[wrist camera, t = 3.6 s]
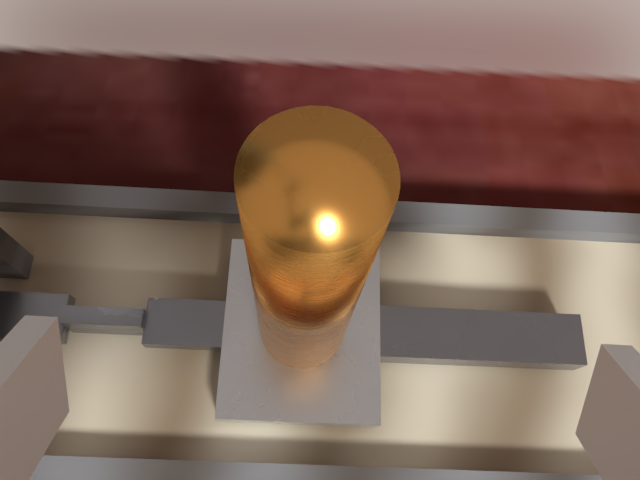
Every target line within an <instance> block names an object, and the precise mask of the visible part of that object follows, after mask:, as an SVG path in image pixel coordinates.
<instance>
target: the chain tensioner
mask: <svg viewBox="0 0 640 480" xmlns="http://www.w3.org/2000/svg"><path fill="white" fill-rule="evenodd" d="M400 181H401V179H400V170H399V166H398V162H397V159H396V156H395V154H394V152H393V150H392V148H391V146H390V145H389V143H388V142H387V140H386V139H385V138H384V136H383V135H382V134H381V133H380V132H379V131H378V130H377V129H376V128H375V127H373V126H372V125H371V124H370V123H368V122H367V121H365V120H364V119H362V118H361V117H359V116H357V115H355V114H352V113H350V112H347V111H344V110H342V109H338V108H333V107H327V106H303V107H297V108H292V109H288V110H286V111H283V112H280V113H278V114H276V115H274V116H272V117H270V118H268V119H267V120H265V121H264V122H262V123H261V124H260V125H259V126H257V127H256V128H255V129H254V130H253V131H252V132H251V134H250V135H249V136H248V137H247V139H246V140H245V141H244V143H243V145H242V147H241V149H240V151H239V153H238V156H237V159H236V162H235V168H234V187H235V194H236V199H237V205H238V210H239V216H240V221H241V227H242V232H243V238H244V239H232V245H231V255H230V265H229V275H228V286H227V296H226V301H214V300H192V299H170V298H148V302H147V309H146V311H145V309H144V308H122V307H99V306H77V305H75V300H76V299H75V298H74V297H73V296H71V295H70V294H60V293H38V292H16V291H0V341H2V340H3V339H4V337H5V336H6V335H7V334H8V333H9V332H10V331H11V330H12V329H13V328H14V327H15V326H16V324H17V323H18V322H19V321H20V320H21V319H22V318H23V317H24V316H25V315H28V316H48V317H58V324H59V332H60V340H61V344H67V340H68V335H69V330H70V331H71V332H73V333H94V334H117V335H140V336H142V342H141V344H142V345H143V346H144V347H145V348H166V349H190V350H213V351H221V357H220V368H219V378H218V388H217V398H216V409H215V420H216V421H218V422H231V423H257V424H284V425H310V426H337V427H363V428H377V427H379V426H381V369H380V362H384V363H408V364H432V365H456V366H479V367H503V368H527V369H551V370H576V369H579V368H581V367H584V366H587V365H588V364H587V357H586V350H585V343H584V336H583V329H582V322H581V315H580V314H561V313H539V312H517V311H496V310H474V309H452V308H430V307H408V306H386V305H380V244H381V242H382V239H383V237H384V234H385V232H386V229H387V227H388V224H389V222H390V219H391V217H392V214H393V212H394V209H395V206H396V204H397V201H398V197H399V192H400Z"/></svg>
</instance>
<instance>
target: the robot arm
mask: <svg viewBox="0 0 640 480" xmlns="http://www.w3.org/2000/svg"><path fill="white" fill-rule="evenodd" d="M68 413H69V404H68V396H67V388H66V380H65V372H64V364H63V356H62V348H61V340H60V332H59V324H58V317H48V316H28V315H25V316H24V317H23V318H22V319H21V320H20V321H19V322H18V323H17V324H16V326H15V327H14V328H13V329H12V330H11V331H10V332H9V333H8V334H7V335H6V336H5V337H4V339H3V340H2V341H1V342H0V480H29V478H30V476H31V475H32V473H33V471H34V470H35V468H36V466H37V465H38V463H39V461H40V460H41V458H42V456H43V455H44V453H45V451H46V450H47V448H48V446H49V445H50V443H51V441H52V440H53V438H54V436H55V435H56V433H57V431H58V430H59V428H60V426H61V425H62V423H63V421H64V420H65V418H66V416H67V415H68ZM575 434H576V436H577V437H578V439H579V441H580V442H581V444H582V446H583V447H584V449H585V451H586V452H587V454H588V456H589V457H590V459H591V461H592V462H593V464H594V465H595V467H596V469H597V470H598V472H599V474H600V475H601V477H602V479H603V480H640V354H639V353H638V351H637V350H636V349H635V348H634V347H633V346H632V345H614V344H601V346H600V350H599V353H598V357H597V360H596V364H595V367H594V370H593V374H592V377H591V381H590V384H589V388H588V391H587V395H586V398H585V401H584V405H583V408H582V412H581V415H580V419H579V422H578V426H577V429H576V433H575Z"/></svg>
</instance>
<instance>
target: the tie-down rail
mask: <svg viewBox="0 0 640 480" xmlns="http://www.w3.org/2000/svg"><path fill="white" fill-rule="evenodd" d="M232 239H244V238H243V232H242V227H241V221H240V216H239V210H238V205H237V199H236V194H235V192H216V191H197V190H178V189H159V188H140V187H121V186H101V185H82V184H63V183H44V182H25V181H6V180H0V291H16V292H38V293H60V294H70V295H71V296H73V297H74V298H75V299H76V300H75V305H77V306H99V307H122V308H144V309H145V311H146V309H147V302H148V298H170V299H192V300H214V301H226V296H227V286H228V275H229V265H230V255H231V245H232ZM380 305H386V306H408V307H430V308H452V309H474V310H496V311H517V312H539V313H561V314H580V315H581V322H582V329H583V336H584V343H585V350H586V357H587V364H588V365H587V366H584V367H581V368H579V369H576V370H551V369H527V368H503V367H479V366H456V365H432V364H408V363H384V362H380V369H381V426H379V427H377V428H363V427H337V426H310V425H284V424H257V423H231V422H218V421H216V420H215V409H216V398H217V388H218V378H219V368H220V357H221V351H213V350H190V349H166V348H145V347H144V346H143V345H142V344H141V342H142V336H140V335H117V334H94V333H73V332H71V331H70V330H69V335H68V340H67V344H61V348H62V356H63V364H64V372H65V380H66V388H67V396H68V404H69V413H68V415H67V416H66V418H65V420H64V421H63V423H62V425H61V426H60V428H59V430H58V431H57V433H56V435H55V436H54V438H53V440H52V441H51V443H50V445H49V446H48V448H47V450H46V451H45V453H44V455H43V456H42V458H41V460H40V461H39V463H38V465H37V466H36V468H35V470H34V471H33V473H32V475H31V476H30V478H29V480H603V479H602V477H601V475H600V474H599V472H598V470H597V469H596V467H595V465H594V464H593V462H592V461H591V459H590V457H589V456H588V454H587V452H586V451H585V449H584V447H583V446H582V444H581V442H580V441H579V439H578V437H577V436H576V434H575V433H576V429H577V426H578V422H579V419H580V415H581V412H582V408H583V405H584V401H585V398H586V395H587V391H588V388H589V384H590V381H591V377H592V374H593V370H594V367H595V364H596V360H597V357H598V353H599V350H600V346H601V344H614V345H632V346H633V347H634V348H635V349H636V350H637V351H638V353H639V354H640V214H637V213H618V212H598V211H579V210H560V209H541V208H522V207H503V206H484V205H465V204H446V203H426V202H407V201H397V204H396V206H395V209H394V212H393V214H392V217H391V219H390V222H389V224H388V227H387V229H386V232H385V234H384V237H383V239H382V242H381V244H380ZM0 342H1V341H0Z"/></svg>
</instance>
